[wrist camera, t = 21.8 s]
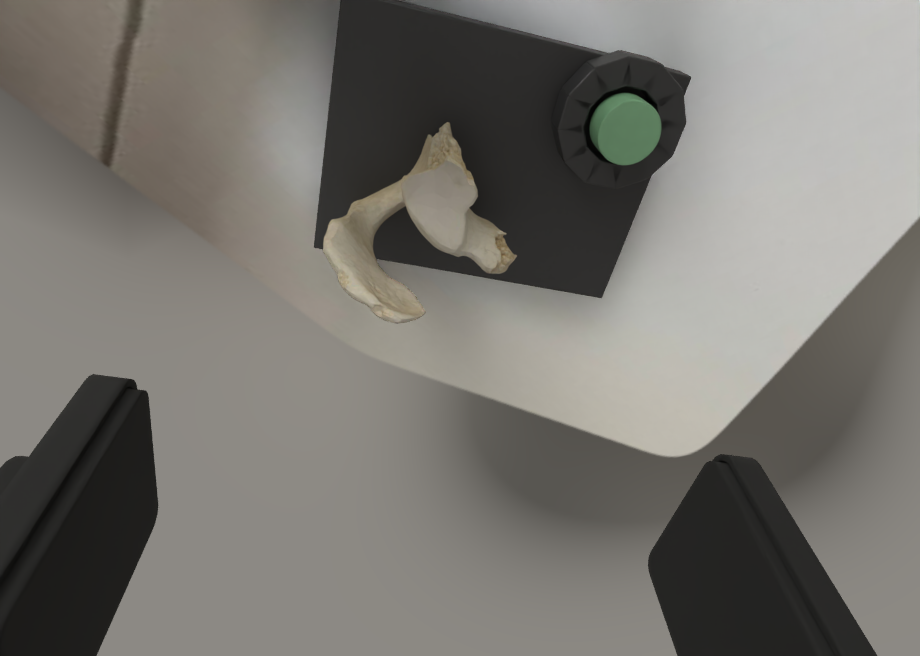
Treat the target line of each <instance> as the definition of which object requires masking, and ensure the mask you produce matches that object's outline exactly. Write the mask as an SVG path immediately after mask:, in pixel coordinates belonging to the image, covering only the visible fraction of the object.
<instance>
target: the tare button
mask: <svg viewBox="0 0 920 656" xmlns="http://www.w3.org/2000/svg"><path fill="white" fill-rule="evenodd" d="M589 131H590V137H591V140H592V142H593V144H594V145H595V147H596V148H597V149H598V150H599V151H600V153H601V154H602V155H603V156H604V157H605V158H606V159H607V160H608V161H610V162H612V163H614V164H617V165H631V164H635V163H637V162H639V161H641V160H643V159H644V158H646V157H647V156H648V155H649V154H650V153H651V152H652V151H653V150H654V148H655V147H656V145H657V143H658V141H659V138H660V135H661V119H660V116H659V114H658V112H657V111H656V110H655V108H654V107H653V106H651V105H650V104H649V103H647V102H646V101H645V100H643V99H642V98H640V97H639V96H637V95H635V94H632V93H617V94H614V95H612V96H610V97H608V98H606V99H605V100H604V101H602V102H601V103H600V104H599V106H598V107H597V108H596V109H595V111H594V113H593V115H592V117H591V121H590V126H589Z"/></svg>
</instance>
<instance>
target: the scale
mask: <svg viewBox="0 0 920 656" xmlns="http://www.w3.org/2000/svg"><path fill="white" fill-rule="evenodd" d="M690 80H691V77H690V76H689V75H687V74H685V73H683V72H681V71H678V70H674V69H670V68H666V67H664V65H662V64H661V63H659V62H657V61H655V60H653V59H651V58H650V57H646V56H642V55H638V54H634V53H630V52H626V51H622V50H620V51H619V50H618V51H615V52H612V53H606V52H602V51H598V50H594V49H590V48H586V47H582V46H578V45H574V44H570V43H566V42H562V41H558V40H554V39H550V38H546V37H542V36H538V35H534V34H530V33H526V32H522V31H518V30H514V29H510V28H506V27H502V26H498V25H494V24H490V23H486V22H482V21H478V20H474V19H470V18H466V17H462V16H458V15H454V14H450V13H446V12H442V11H438V10H434V9H430V8H426V7H422V6H418V5H414V4H410V3H406V2H402V1H398V0H341V2H340V11H339V20H338V30H337V39H336V48H335V57H334V66H333V75H332V85H331V94H330V103H329V112H328V121H327V131H326V140H325V149H324V158H323V167H322V177H321V186H320V195H319V204H318V213H317V223H316V232H315V241H314V248H319V249H323V242H324V236H325V235H326V232H327V229H328V225H329V223H330V221H331V220H332V219H338V218H342V217H344V216H346V215H347V214H348V211H349V209H350V206H351V204H352V203H353V202H355V201H357V200H361V199H364V198H366V197H368V196H370V195H372V194H374V193H376V192H378V191H380V190H382V189H383V188H386V187H388V186H390V185H392V184H394V183H396V182H398V181H399V180H401V179H402V177H403V176H404V175H405V176H406V175H408V174H409V173H410V172H411V170H412V169H413V168H414V166H415V165H416V163H417V161H418V159H419V157H420V155H421V153H422V150H423V147H424V144H425V141H426V139H427V136H428V135H431V136H432V137H433V136H434V135H435V134H436V133H438V132H439V128H440V127H442V126H443V125H444V124H445V123H446V122H449V123H450V127H451V132H452V137H453V138H454V139H455V140H456V141H457V142H458V145H459V147H460V148H461V156H462V160H463V162H464V164H465V166H466V169H467V170H468V171H470V172H471V174H472V176H473V179H474V183H475V185H476V187H477V191H478V197H477V199H476V201H475V202H474V204H473V205H472V206H470V207H469V208H470V209H471V210H472V212H473V213H474V214H476V215H477V216H479V217H481V218H483V219H486V220H488V221H490V222H491V223H493V224H494V225H495V226H496V227H497V228H498V229H499V230H501V231H503V232H504V233H507V234H506V235H503V238H504V239H505V242H506V244H507V246H508V247H509V249H510V250H511V252H512V253H513V254H514V255H517V257H516V258H515V260H514V261H513V262H512V263H511V264H510V265H509V267H508V269H507V270H506V271H505V272H503V273H501V274H492V273H487V272H485V271H484V270H482V269H481V267H480V266H479V265H478V264H477V263H476V262H475V261H474V260H472V259H471V258H469V257H467V256H460V257H457V256H454V255H451V254H449V253H445V252H443V251H441V250H439V249H437V248H436V247H434V246H433V245H432V244H431V243H430V242H429V241H428V240H427V239H426V238H425V237H424V236H423V235H422V234H421V232H420V231H419V230H418V228H417V227H416V225H415V224H414V222H413V221H412V219H411V217H410V215H409V213H408V211H407V208H406V206H405V207H403V208H402V209H400V210H398V211H397V212H395V213H394V214H393V215H391V216H390V217H389V218H387V219H386V220H385V221H384V222H383V223H382V224H381V225H380V227H379V228H378V230H377V231H376V233H375V235H374V239H373V251H374V255H375V257H376V259H381V260H387V261H393V262H398V263H404V264H410V265H416V266H421V267H427V268H433V269H438V270H444V271H450V272H455V273H461V274H467V275H473V276H478V277H484V278H490V279H495V280H501V281H507V282H513V283H518V284H524V285H530V286H535V287H541V288H547V289H552V290H558V291H564V292H570V293H575V294H581V295H587V296H592V297H598V298H602V296H603V294H604V291H605V289H606V286H607V284H608V281H609V279H610V277H611V274H612V272H613V269H614V267H615V264H616V262H617V259H618V257H619V254H620V252H621V250H622V247H623V245H624V242H625V240H626V237H627V235H628V232H629V230H630V227H631V225H632V222H633V220H634V218H635V215H636V213H637V210H638V208H639V205H640V203H641V200H642V198H643V195H644V193H645V191H646V188H647V186H648V183H649V181H650V178H651V176H652V174H653V173H654V172H656V171H657V170H658V169H659V168H660V167H661V166H662V165H663V164H664V163H665V162H666V161H668V160H669V159H670V158H671V157H672V155H673V154H674V151H675V149H676V146H677V144H678V142H679V139H680V137H681V134H682V132H683V130H684V127H685V125H686V115H685V104H684V95H685V92H686V90H687V87H688V85H689V82H690ZM617 93H632V94H635V95H637V96H639V97H640V98H642V99H643V100H645V101H646V102H647V103H649V104H650V105H651V106H653V107H654V108H655V110H656V111H657V112H658V114H659V116H660V119H661V135H660V138H659V141H658V143H657V145H656V147H655V148H654V150H653V151H652V152H651V153H650V154H649V155H648V156H647V157H646V158H644V159H643V160H641V161H639V162H637V163H635V164H631V165H617V164H614V163H612V162H610V161H608V160H607V159H606V158H605V157H604V156H603V155H602V154H601V153H600V151H599V150H598V149H597V148H596V147H595V145H594V144H593V142H592V140H591V137H590V131H589V126H590V121H591V117H592V115H593V113H594V111H595V109H596V108H597V107H598V106H599V104H600V103H601V102H602V101H604V100H605V99H606V98H608V97H610V96H612V95H614V94H617Z"/></svg>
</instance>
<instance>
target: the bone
mask: <svg viewBox="0 0 920 656" xmlns="http://www.w3.org/2000/svg"><path fill="white" fill-rule="evenodd" d="M477 197H478V191H477V187H476V185H475V183H474V179H473V176H472V174H471V172H470V171H468V170H467V169H466V166H465V164H464V162H463V160H462V156H461V148H460V147H459V145H458V142H457V141H456V140H455V139H454V138H453V137H452V132H451V127H450V123H449V122H446V123H445V124H444V125H443V126H442V127H440V128H439V132H438V133H436V134H435V135H434V136H433V137H432V136H431V135H428V136H427V139H426V141H425V144H424V147H423V150H422V153H421V155H420V157H419V159H418V161H417V163H416V165H415V166H414V168H413V169H412V170H411V172H410V173H409V174H408V175H406V176H405V175H404V176H403V177H402V179H401V180H399V181H398V182H396V183H394V184H392V185H390V186H388V187H386V188H383V189H382V190H380V191H378V192H376V193H374V194H372V195H370V196H368V197H366V198H364V199H361V200H357V201H355V202H353V203H352V204H351V206H350V209H349V211H348V214H347V215H346V216H344V217H342V218H338V219H332V220H331V221H330V223H329V225H328V229H327V232H326V235H325V236H324V242H323V253H324V254H325V255H326V257H327V259H328V260H329V262H330V264H331V266H332V267H333V269H334V270H335V272H336V273H337V275H338V280H339V283H340V285H341V286H342V288H343V289H344V290H345V291H346V292H347V294H348V295H349V296H351V297H352V298H353V299H355V300H357V301H359V302H361V303H363V304H365V305H367V306H368V307H369V308H370V309H371V310H372V312H373V313H374V314H375V315H376V316H378V317H379V318H381V319H383V320H385V321H389V322H392V323H405V322H410V321H413V320H416V319H418V318H420V317H421V316H423V315H424V314H425V313H426V311H425V310H424V308H423V306H422V305H421V304H420V303H419V301H418V299H417V297H416V296H415V295H414V294H413V293H412V291H410V290H409V289H408V288H407V287H406V286H405V285H404V284H402V283H400V282H398V281H396V280H394V279H392V278H390V277H389V276H388V275H387V274H386V273H385V272H384V271H383V270H382V269H381V268H380V266H379V265H378V263H377V260H376V257H375V255H374V251H373V239H374V235H375V233H376V231H377V230H378V228H379V227H380V225H381V224H382V223H383V222H384V221H385V220H386V219H387V218H389V217H390V216H391V215H393V214H394V213H395V212H397V211H398V210H400V209H402V208H403V207H405V206H406V208H407V211H408V213H409V215H410V217H411V219H412V221H413V222H414V224H415V225H416V227H417V228H418V230H419V231H420V232H421V234H422V235H423V236H424V237H425V238H426V239H427V240H428V241H429V242H430V243H431V244H432V245H433V246H434V247H436V248H437V249H439V250H441V251H443V252H445V253H449V254H451V255H454V256H457V257H460V256H467V257H469V258H471V259H472V260H474V261H475V262H476V263H477V264H478V265H479V266H480V267H481V269H482V270H484V271H485V272H487V273H492V274H501V273H503V272H505V271H506V270H507V269H508V267H509V265H510V264H511V263H512V262H513V261H514V260H515V258H516V257H517V255H514V254H513V253H512V252H511V250H510V249H509V247H508V246H507V244H506V242H505V239H504V238H503V235H506V234H507V233H504V232H503V231H501V230H499V229H498V228H497V227H496V226H495V225H494V224H493V223H491V222H490V221H488V220H486V219H483V218H481V217H479V216H477V215H476V214H474V213H473V212H472V210H471V209H470V208H469V207H470V206H472V205H473V204H474V202H475V201H476V199H477Z"/></svg>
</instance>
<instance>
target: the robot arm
mask: <svg viewBox="0 0 920 656" xmlns="http://www.w3.org/2000/svg"><path fill="white" fill-rule="evenodd" d="M157 512H158V498H157V487H156V476H155V464H154V453H153V443H152V431H151V419H150V408H149V397H148V393H147V392H146V391H144V390H137V385H136V382H135V381H134V380H132V379H125V378H118V377H110V376H103V375H95V374H93V375H91V376H89V377H88V378H87V379H86V380H85V381H84V382H83V384H82V385H81V387H80V388H79V389H78V391H77V392H76V393H75V395H74V396H73V397H72V399H71V400H70V401H69V403H68V404H67V406H66V407H65V408H64V410H63V411H62V412H61V414H60V415H59V416H58V418H57V419H56V421H55V422H54V423H53V425H52V426H51V428H50V429H49V430H48V431H47V433H46V434H45V435H44V437H43V438H42V439H41V441H40V442H39V444H38V445H37V446H36V448H35V449H34V450H33V452H32V453H31V455H30V456H29V457H26V456H15V457H13V458H11V459H10V460H8V461H6V462H5V463H4V465H3V466H2V467H1V468H0V656H96V655H97V653H98V651H99V649H100V646H101V644H102V642H103V639H104V637H105V635H106V633H107V631H108V628H109V626H110V624H111V622H112V619H113V617H114V615H115V613H116V611H117V608H118V606H119V604H120V602H121V599H122V597H123V595H124V593H125V590H126V588H127V586H128V584H129V581H130V579H131V577H132V575H133V572H134V570H135V568H136V566H137V563H138V561H139V559H140V557H141V554H142V552H143V550H144V548H145V545H146V543H147V541H148V539H149V537H150V534H151V532H152V530H153V527H154V524H155V521H156V517H157ZM648 567H649V573H650V577H651V579H652V583H653V585H654V588H655V591H656V594H657V597H658V600H659V603H660V606H661V609H662V612H663V615H664V618H665V621H666V623H667V626H668V629H669V632H670V635H671V638H672V641H673V644H674V646H675V649H676V653H677V655H678V656H877V655H876V653H875V651H874V650H873V648H872V646H871V645H870V643H869V642H868V640H867V638H866V637H865V635H864V633H863V632H862V630H861V628H860V627H859V625H858V624H857V622H856V620H855V619H854V617H853V615H852V614H851V612H850V611H849V609H848V607H847V606H846V604H845V602H844V601H843V599H842V597H841V596H840V594H839V593H838V591H837V589H836V588H835V586H834V584H833V583H832V581H831V580H830V578H829V576H828V575H827V573H826V571H825V570H824V568H823V567H822V565H821V563H820V562H819V560H818V558H817V557H816V555H815V553H814V552H813V550H812V549H811V547H810V545H809V544H808V542H807V540H806V539H805V537H804V536H803V534H802V532H801V531H800V529H799V527H798V526H797V524H796V523H795V521H794V519H793V518H792V516H791V514H790V513H789V511H788V509H787V508H786V506H785V504H784V503H783V501H782V500H781V498H780V496H779V495H778V493H777V491H776V490H775V488H774V487H773V485H772V483H771V482H770V480H769V478H768V477H767V475H766V473H765V472H764V470H763V469H762V467H761V465H760V464H759V463H758V462H757V461H756V460H755V459H753V458H748V457H740V456H732V455H724V454H723V455H722V454H720V455H718V456H716V457H715V458H714V460H713V461H709V462H707V463H706V464H705V465H704V467H703V468H702V470H701V471H700V473H699V475H698V476H697V478H696V479H695V481H694V483H693V484H692V486H691V488H690V490H689V491H688V492H687V494H686V496H685V497H684V499H683V500H682V502H681V504H680V505H679V507H678V509H677V510H676V512H675V513H674V515H673V517H672V518H671V520H670V522H669V523H668V525H667V526H666V528H665V530H664V531H663V533H662V535H661V536H660V538H659V540H658V541H657V543H656V544H655V546H654V547H653V549H652V551H651V553H650V555H649V560H648Z"/></svg>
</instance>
